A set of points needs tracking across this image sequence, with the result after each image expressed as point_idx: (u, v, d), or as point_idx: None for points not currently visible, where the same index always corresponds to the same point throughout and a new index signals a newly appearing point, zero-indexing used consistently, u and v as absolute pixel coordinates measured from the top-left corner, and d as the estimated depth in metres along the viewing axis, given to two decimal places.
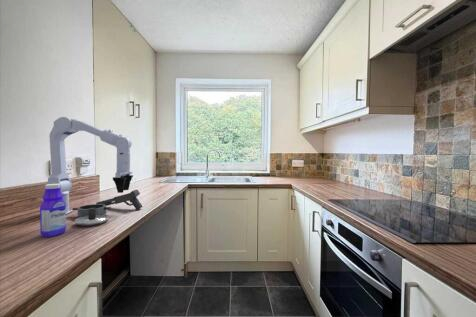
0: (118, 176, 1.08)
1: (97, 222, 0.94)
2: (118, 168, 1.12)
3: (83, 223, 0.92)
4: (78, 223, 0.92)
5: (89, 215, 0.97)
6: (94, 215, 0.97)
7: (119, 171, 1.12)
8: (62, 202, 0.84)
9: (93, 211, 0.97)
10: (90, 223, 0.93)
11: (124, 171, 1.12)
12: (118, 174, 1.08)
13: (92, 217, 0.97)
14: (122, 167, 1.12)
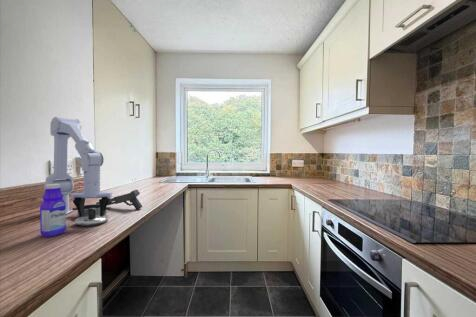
0: None
1: (97, 222, 0.94)
2: None
3: (83, 223, 0.92)
4: (78, 223, 0.92)
5: (89, 215, 0.97)
6: (94, 215, 0.97)
7: None
8: (62, 202, 0.84)
9: (93, 211, 0.97)
10: (90, 223, 0.93)
11: None
12: None
13: (92, 217, 0.97)
14: None
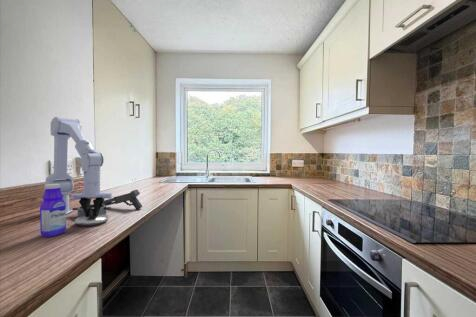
0: None
1: (97, 222, 0.94)
2: None
3: (83, 223, 0.92)
4: (78, 223, 0.92)
5: (89, 215, 0.97)
6: None
7: None
8: (62, 202, 0.84)
9: (93, 211, 0.97)
10: (90, 223, 0.93)
11: (83, 193, 0.96)
12: None
13: (92, 217, 0.97)
14: None
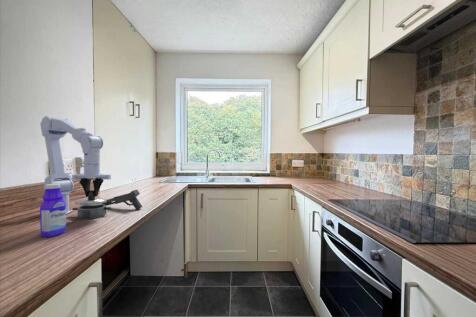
0: None
1: (97, 202, 0.99)
2: None
3: (83, 202, 0.97)
4: (78, 202, 0.97)
5: (89, 196, 1.02)
6: (93, 196, 1.02)
7: None
8: (62, 202, 0.84)
9: (93, 192, 1.02)
10: (90, 202, 0.98)
11: None
12: None
13: (92, 198, 1.02)
14: None
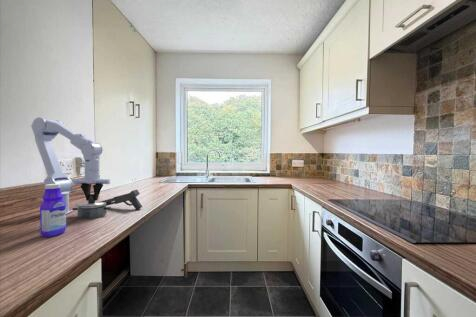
0: None
1: (97, 205, 1.05)
2: None
3: (85, 205, 1.02)
4: (80, 205, 1.03)
5: (89, 200, 1.07)
6: None
7: None
8: (62, 202, 0.84)
9: (93, 196, 1.08)
10: (91, 205, 1.03)
11: (84, 179, 1.07)
12: None
13: (92, 202, 1.07)
14: None
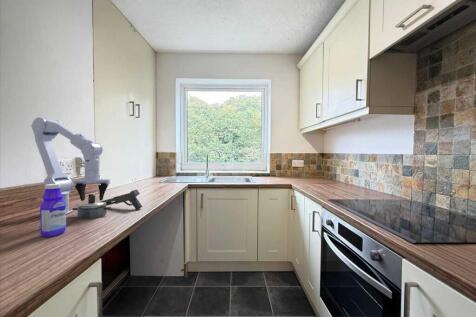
0: None
1: (97, 205, 1.05)
2: None
3: (85, 205, 1.02)
4: (80, 205, 1.03)
5: (89, 200, 1.07)
6: (94, 200, 1.08)
7: None
8: (62, 202, 0.84)
9: (93, 196, 1.08)
10: (91, 205, 1.03)
11: (84, 179, 1.07)
12: None
13: (92, 202, 1.07)
14: None
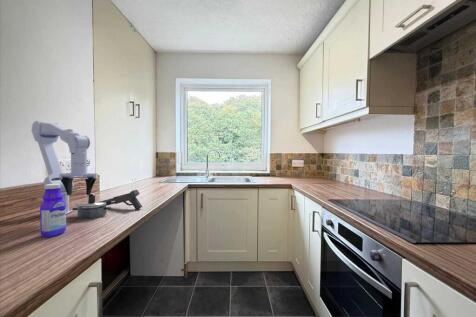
0: None
1: (97, 205, 1.05)
2: None
3: (85, 205, 1.02)
4: (80, 205, 1.03)
5: (89, 200, 1.07)
6: (94, 200, 1.08)
7: None
8: (62, 202, 0.84)
9: (93, 196, 1.08)
10: (91, 205, 1.03)
11: None
12: None
13: (92, 202, 1.07)
14: None
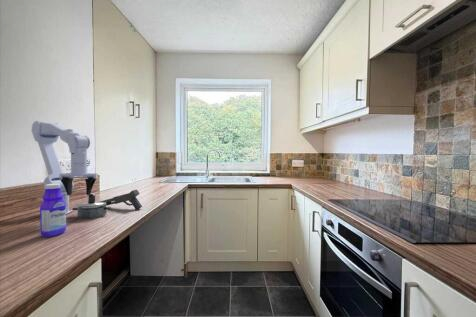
0: None
1: (97, 205, 1.05)
2: None
3: (85, 205, 1.02)
4: (80, 205, 1.03)
5: (89, 200, 1.07)
6: (94, 200, 1.08)
7: None
8: (62, 202, 0.84)
9: (93, 196, 1.08)
10: (91, 205, 1.03)
11: None
12: None
13: (92, 202, 1.07)
14: None
